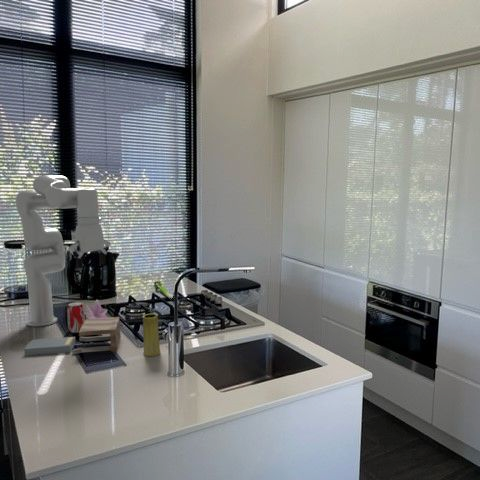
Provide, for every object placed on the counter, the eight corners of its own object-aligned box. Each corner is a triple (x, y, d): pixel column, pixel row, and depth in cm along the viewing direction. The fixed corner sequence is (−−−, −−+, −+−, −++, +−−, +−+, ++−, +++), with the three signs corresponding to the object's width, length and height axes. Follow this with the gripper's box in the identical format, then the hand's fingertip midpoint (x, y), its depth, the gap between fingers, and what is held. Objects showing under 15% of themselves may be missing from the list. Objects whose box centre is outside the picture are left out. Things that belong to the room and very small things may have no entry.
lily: (82, 331, 196) (90, 313, 194) (76, 314, 205) (84, 297, 202) (107, 333, 204) (116, 316, 201) (101, 317, 212) (109, 301, 210)
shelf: (80, 340, 182) (78, 319, 181) (120, 337, 184) (119, 316, 183) (72, 354, 166) (70, 332, 165) (116, 351, 169) (115, 329, 168)
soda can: (80, 334, 189) (78, 306, 187) (65, 333, 190) (63, 305, 189) (89, 328, 196) (87, 301, 194) (74, 328, 197) (72, 301, 196)
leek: (168, 305, 239) (150, 289, 264) (180, 305, 242) (161, 289, 268) (169, 294, 238) (151, 279, 263) (182, 294, 241) (163, 279, 267)
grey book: (32, 346, 176) (32, 339, 176) (75, 342, 179) (75, 336, 178) (24, 355, 166) (24, 348, 166) (70, 352, 169) (70, 345, 168)
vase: (163, 351, 168) (161, 314, 166) (155, 357, 162) (153, 318, 160) (148, 349, 170) (147, 312, 168) (140, 355, 164) (138, 317, 162)
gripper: (102, 219, 179) (105, 262, 182) (62, 223, 166) (65, 269, 168) (114, 220, 175) (116, 263, 177) (73, 224, 161) (76, 271, 164)
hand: (91, 266), depth 173 cm, fingers open, 9 cm apart
